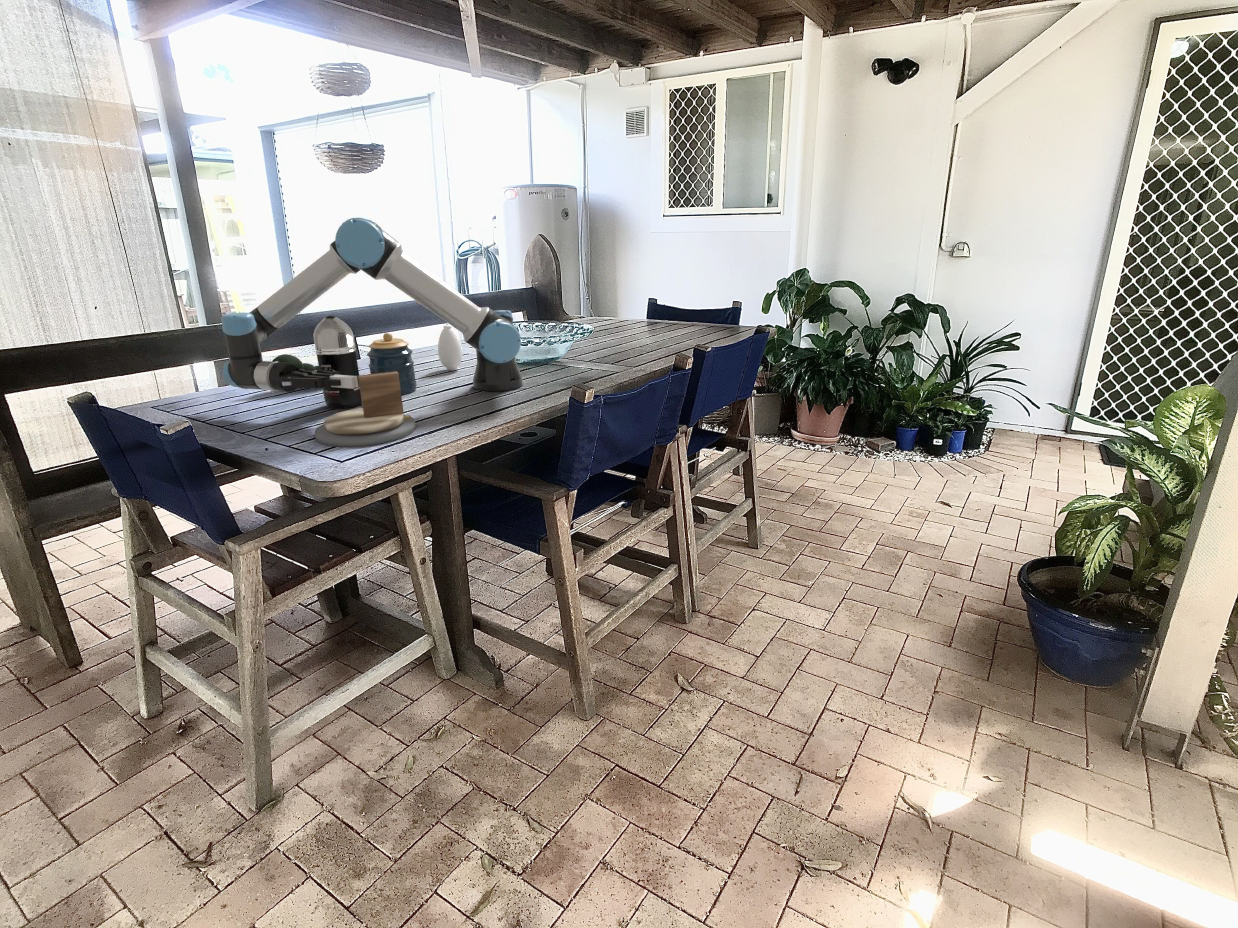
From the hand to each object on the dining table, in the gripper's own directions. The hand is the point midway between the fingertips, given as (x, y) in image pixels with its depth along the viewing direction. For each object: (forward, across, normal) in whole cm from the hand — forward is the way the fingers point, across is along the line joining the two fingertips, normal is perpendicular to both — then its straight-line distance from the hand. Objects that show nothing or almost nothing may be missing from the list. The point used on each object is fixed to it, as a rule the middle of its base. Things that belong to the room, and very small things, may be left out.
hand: (354, 382), depth 160 cm
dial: (+6, +5, -9) cm, 11 cm away
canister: (-13, -33, -11) cm, 37 cm away
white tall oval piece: (-13, -64, -11) cm, 66 cm away
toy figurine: (-42, -29, -11) cm, 52 cm away
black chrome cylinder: (-17, -14, -11) cm, 25 cm away
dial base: (+6, +5, -11) cm, 13 cm away
